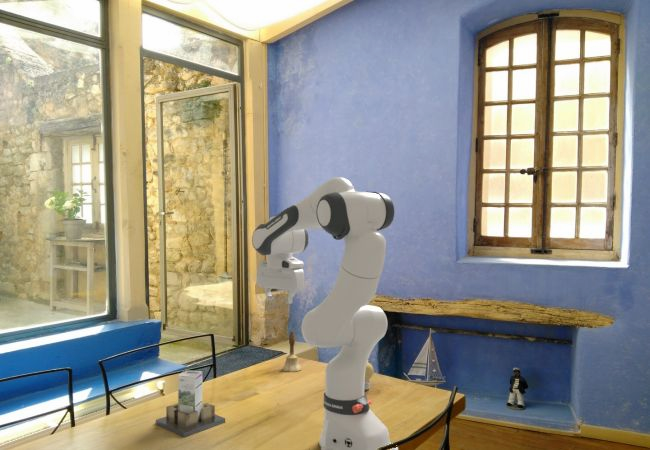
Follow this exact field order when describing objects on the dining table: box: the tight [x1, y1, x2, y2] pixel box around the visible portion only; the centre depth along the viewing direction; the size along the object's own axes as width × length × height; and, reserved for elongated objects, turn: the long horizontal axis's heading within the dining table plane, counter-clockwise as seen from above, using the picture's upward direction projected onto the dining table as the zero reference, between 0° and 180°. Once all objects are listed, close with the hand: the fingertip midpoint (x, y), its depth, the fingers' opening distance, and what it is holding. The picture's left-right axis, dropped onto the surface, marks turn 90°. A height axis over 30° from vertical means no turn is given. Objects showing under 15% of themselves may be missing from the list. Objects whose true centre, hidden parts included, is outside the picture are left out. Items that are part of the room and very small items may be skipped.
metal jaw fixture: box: [155, 400, 226, 438], centre depth 164 cm, size 15×15×5 cm
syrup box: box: [177, 370, 203, 420], centre depth 164 cm, size 6×6×14 cm
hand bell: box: [281, 330, 303, 373], centre depth 222 cm, size 8×8×16 cm
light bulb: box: [364, 361, 375, 391], centre depth 197 cm, size 6×6×10 cm
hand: (279, 302), depth 183 cm, fingers open, 8 cm apart
